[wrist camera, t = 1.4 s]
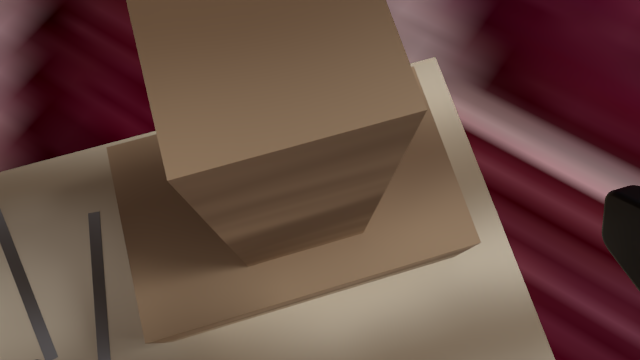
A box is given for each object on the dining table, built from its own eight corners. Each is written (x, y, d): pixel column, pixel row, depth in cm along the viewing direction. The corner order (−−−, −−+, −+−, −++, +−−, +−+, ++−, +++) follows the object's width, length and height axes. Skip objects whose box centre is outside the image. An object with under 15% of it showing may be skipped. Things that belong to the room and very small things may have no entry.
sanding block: (454, 256, 19) (689, 130, 7) (172, 342, 18) (-90, 358, 6) (399, 104, 20) (516, -203, 9) (136, 175, 19) (-125, -63, 8)
